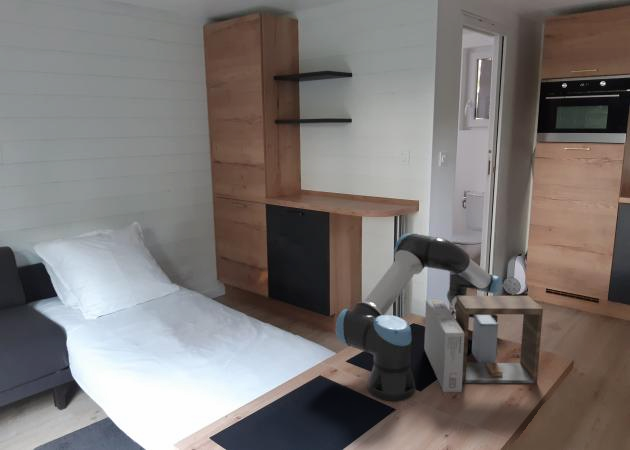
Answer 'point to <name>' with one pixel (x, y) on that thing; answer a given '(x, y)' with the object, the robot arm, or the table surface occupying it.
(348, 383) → the table surface
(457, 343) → the packaging
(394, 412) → the table surface
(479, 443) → the table surface
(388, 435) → the table surface
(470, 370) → the walnut shelf
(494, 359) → the tall grey lidded box
